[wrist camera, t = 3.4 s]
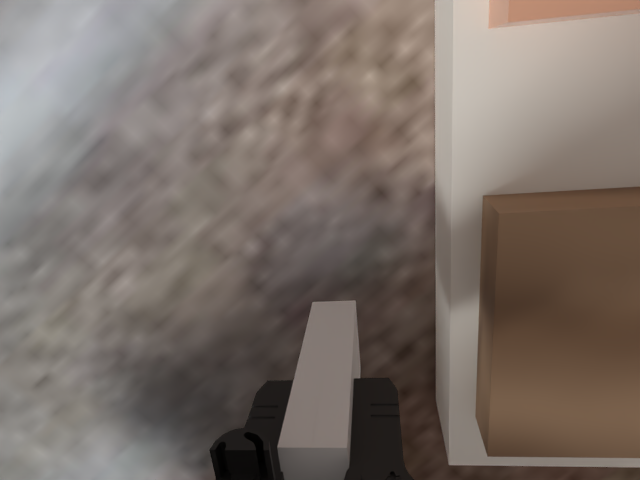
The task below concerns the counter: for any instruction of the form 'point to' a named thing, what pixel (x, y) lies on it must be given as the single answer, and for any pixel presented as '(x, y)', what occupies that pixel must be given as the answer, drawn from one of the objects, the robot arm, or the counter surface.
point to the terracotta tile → (555, 11)
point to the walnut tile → (560, 324)
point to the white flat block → (517, 165)
